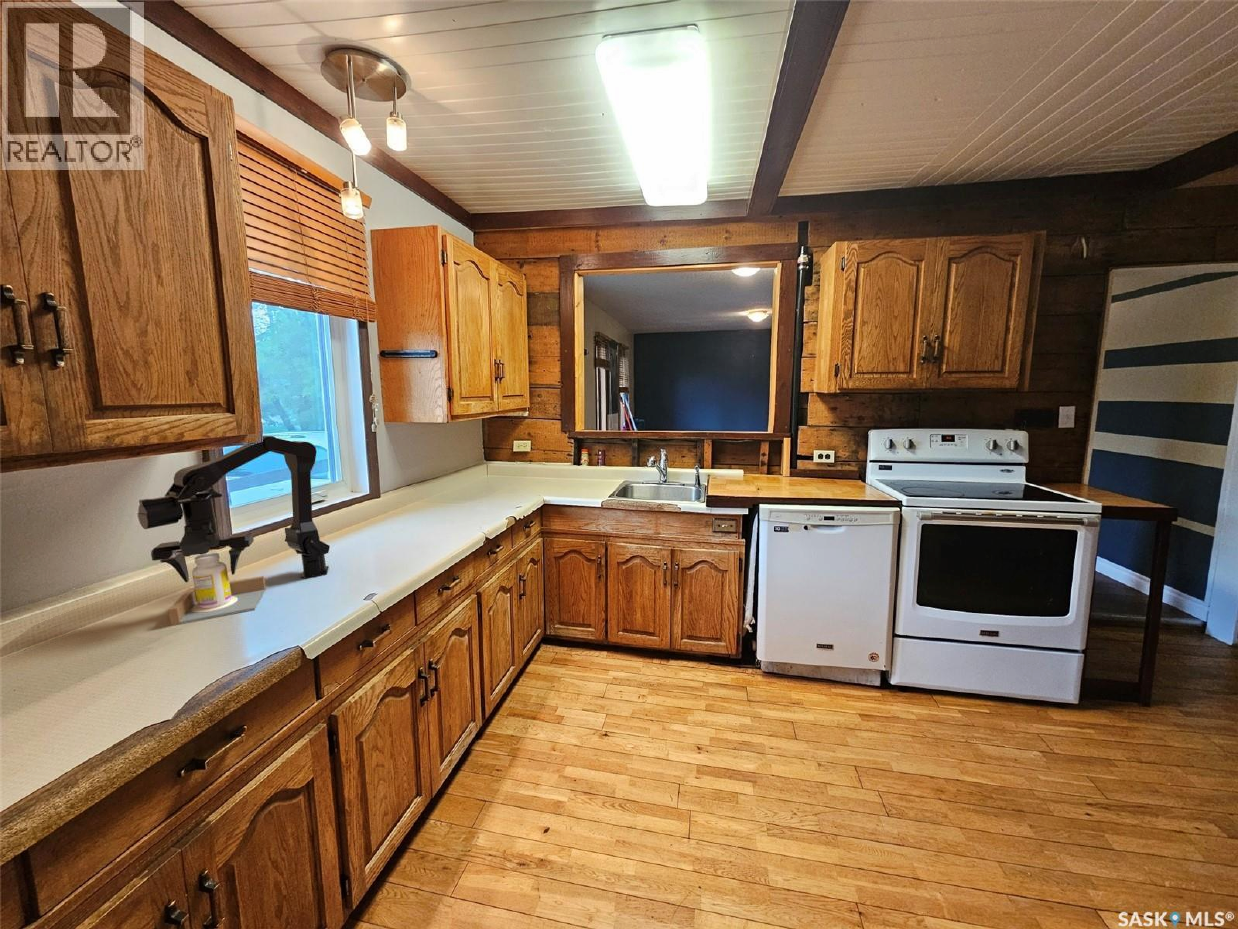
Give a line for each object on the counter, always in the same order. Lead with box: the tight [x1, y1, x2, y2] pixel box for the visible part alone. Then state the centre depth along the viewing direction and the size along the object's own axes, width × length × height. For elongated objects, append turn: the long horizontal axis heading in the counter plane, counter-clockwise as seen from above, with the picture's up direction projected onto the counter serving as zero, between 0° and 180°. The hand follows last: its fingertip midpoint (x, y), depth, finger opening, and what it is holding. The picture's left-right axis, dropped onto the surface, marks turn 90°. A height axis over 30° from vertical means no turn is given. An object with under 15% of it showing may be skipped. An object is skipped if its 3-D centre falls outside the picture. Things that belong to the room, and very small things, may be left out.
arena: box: [168, 575, 267, 627], centre depth 122 cm, size 14×16×4 cm
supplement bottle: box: [191, 552, 232, 609], centre depth 121 cm, size 7×7×13 cm
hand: (210, 577), depth 120 cm, fingers open, 9 cm apart
